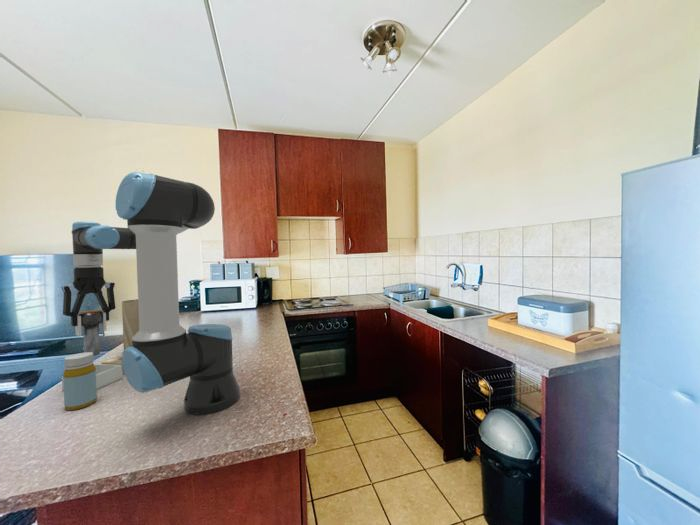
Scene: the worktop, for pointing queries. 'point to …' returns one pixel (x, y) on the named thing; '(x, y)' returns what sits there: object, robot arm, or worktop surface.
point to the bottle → (79, 381)
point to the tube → (130, 321)
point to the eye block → (115, 362)
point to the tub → (105, 375)
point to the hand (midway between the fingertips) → (91, 332)
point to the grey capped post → (91, 330)
